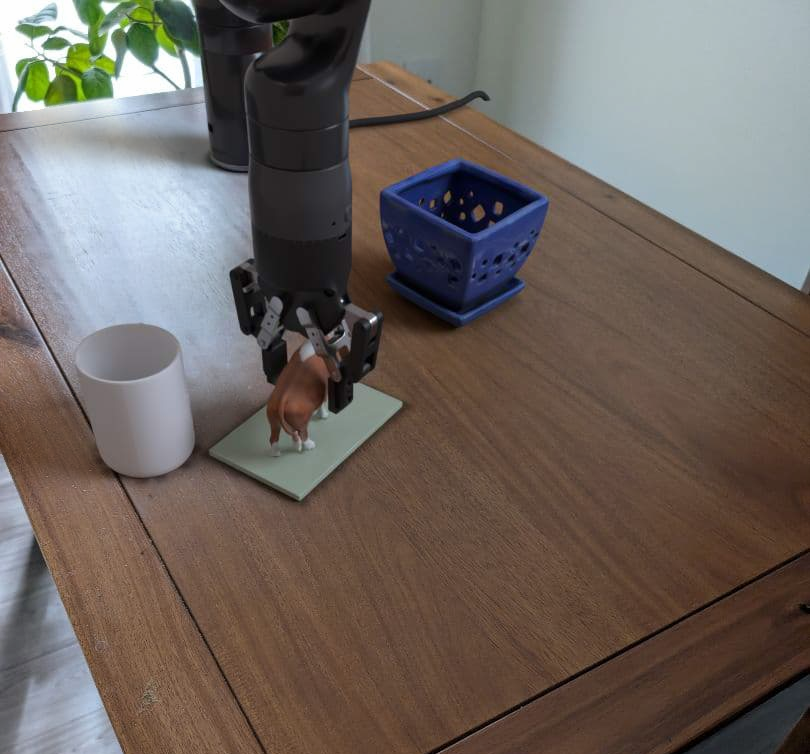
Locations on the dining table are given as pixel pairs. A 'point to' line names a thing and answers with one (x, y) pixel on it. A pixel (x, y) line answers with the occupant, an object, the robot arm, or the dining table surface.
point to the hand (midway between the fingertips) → (308, 393)
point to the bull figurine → (298, 397)
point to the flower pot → (459, 238)
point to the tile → (304, 467)
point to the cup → (136, 398)
